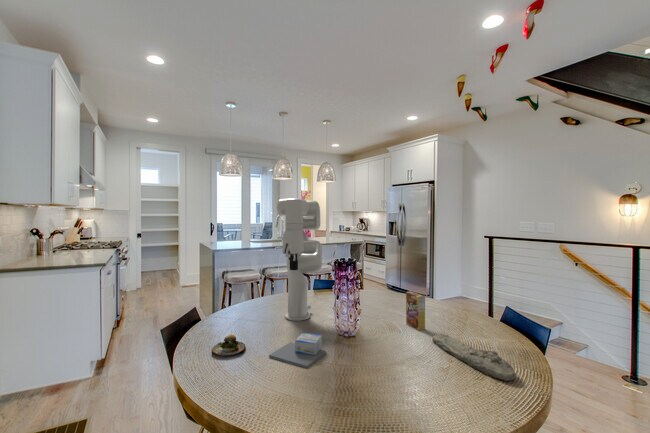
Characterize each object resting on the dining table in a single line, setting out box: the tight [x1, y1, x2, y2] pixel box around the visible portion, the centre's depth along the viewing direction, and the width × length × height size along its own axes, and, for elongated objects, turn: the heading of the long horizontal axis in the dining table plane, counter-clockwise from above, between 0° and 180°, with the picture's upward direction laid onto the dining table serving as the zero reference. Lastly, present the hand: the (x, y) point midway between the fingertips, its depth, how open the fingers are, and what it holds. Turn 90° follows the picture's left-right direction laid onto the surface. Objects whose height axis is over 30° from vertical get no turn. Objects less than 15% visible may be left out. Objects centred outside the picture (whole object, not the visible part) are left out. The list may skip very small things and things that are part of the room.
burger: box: [211, 328, 247, 356], centre depth 116 cm, size 12×12×8 cm
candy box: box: [405, 290, 426, 331], centre depth 143 cm, size 9×4×15 cm, turn 23°
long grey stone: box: [431, 333, 517, 382], centre depth 112 cm, size 35×5×10 cm
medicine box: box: [294, 332, 323, 355], centre depth 116 cm, size 8×4×9 cm
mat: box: [268, 341, 327, 369], centre depth 113 cm, size 13×16×1 cm
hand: (293, 269), depth 134 cm, fingers closed
